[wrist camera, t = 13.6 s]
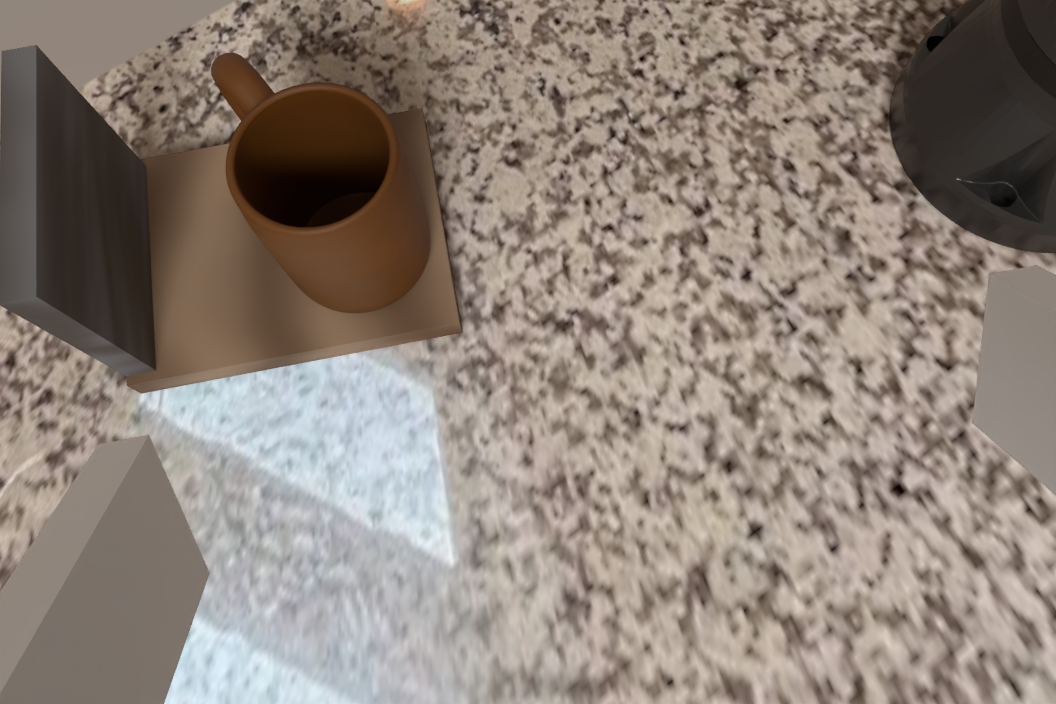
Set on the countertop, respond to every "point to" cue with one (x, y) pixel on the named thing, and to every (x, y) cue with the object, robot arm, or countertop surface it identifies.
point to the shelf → (171, 249)
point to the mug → (325, 188)
